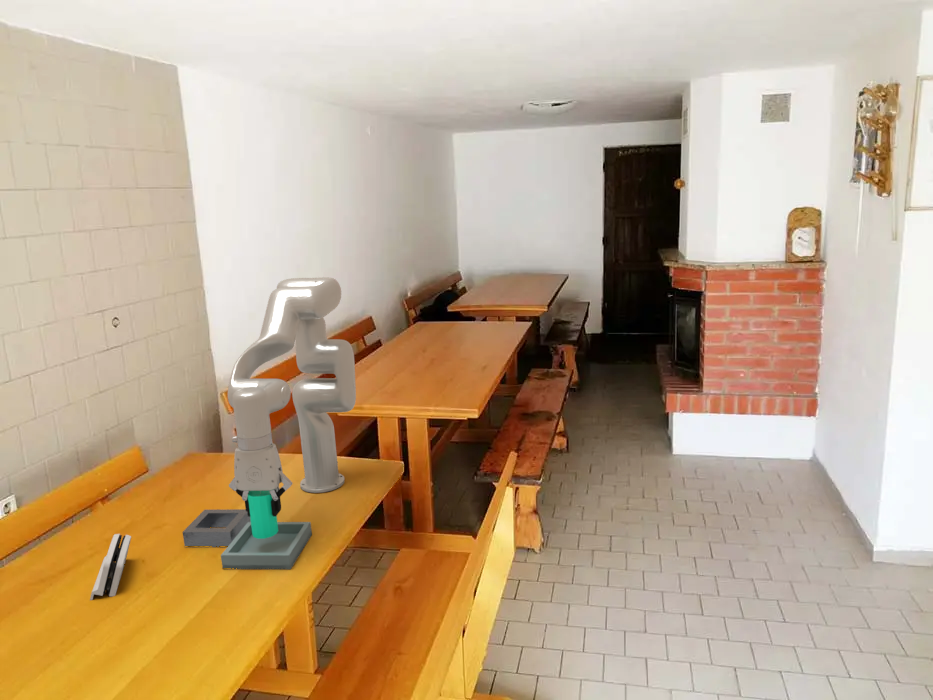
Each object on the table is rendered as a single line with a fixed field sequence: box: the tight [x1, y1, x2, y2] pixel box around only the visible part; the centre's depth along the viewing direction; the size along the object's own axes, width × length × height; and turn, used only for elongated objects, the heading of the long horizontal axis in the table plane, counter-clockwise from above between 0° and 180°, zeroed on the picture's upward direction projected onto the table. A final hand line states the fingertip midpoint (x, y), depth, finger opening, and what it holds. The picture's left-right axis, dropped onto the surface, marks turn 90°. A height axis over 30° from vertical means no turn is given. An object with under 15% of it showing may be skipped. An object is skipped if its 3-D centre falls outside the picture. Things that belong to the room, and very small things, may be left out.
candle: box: [247, 491, 278, 539], centre depth 167 cm, size 6×6×12 cm
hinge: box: [89, 533, 132, 601], centre depth 161 cm, size 17×5×10 cm, turn 17°
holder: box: [182, 508, 251, 548], centre depth 179 cm, size 12×12×4 cm
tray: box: [220, 521, 313, 570], centre depth 169 cm, size 16×16×4 cm
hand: (264, 513), depth 167 cm, fingers closed on candle, 5 cm apart
